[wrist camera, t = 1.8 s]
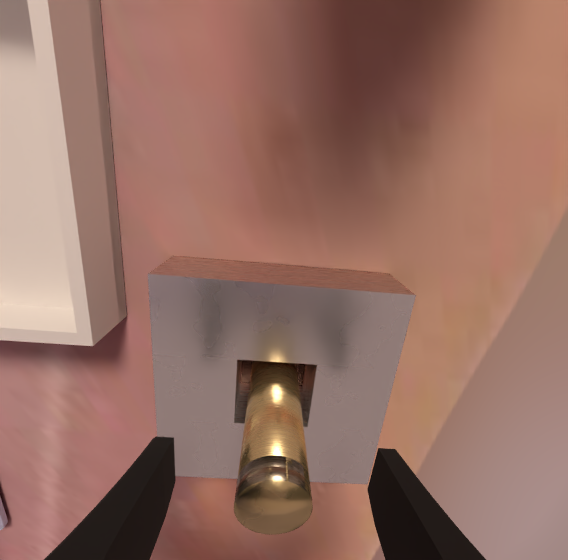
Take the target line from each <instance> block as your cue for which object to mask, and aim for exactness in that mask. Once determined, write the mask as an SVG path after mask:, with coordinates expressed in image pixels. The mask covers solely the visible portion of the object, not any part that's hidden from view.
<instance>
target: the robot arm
mask: <svg viewBox="0 0 568 560" xmlns="http://www.w3.org/2000/svg"><path fill="white" fill-rule="evenodd" d="M174 484H175V453H174V437H155V438H153V439H152V441H151V442H150V443H149V445H148V446H147V447H146V448H145V450H144V451H143V452H142V453H141V455H140V456H139V457H138V458H137V460H136V461H135V462H134V463H133V464H132V466H131V467H130V468H129V469H128V470H127V472H126V473H125V474H124V475H123V476H122V477H121V479H120V480H119V481H118V482H117V483H116V484H115V485H114V487H113V488H112V489H111V490H110V491H109V492H108V493H107V495H106V496H105V497H104V498H103V499H102V500H101V501H100V502H99V504H98V505H97V506H96V507H95V508H94V509H93V510H92V511H91V512H90V513H89V514H88V515H87V516H86V517H85V518H84V520H83V521H82V522H81V523H80V524H79V525H78V526H77V527H76V528H75V529H74V530H73V531H72V532H71V533H70V534H69V535H68V536H67V537H66V538H65V539H64V540H63V541H62V542H61V543H60V544H59V545H58V546H57V547H56V548H55V549H54V550H53V551H52V552H51V553H50V554H49V555H48V556H47V557H46V558H45V559H44V560H149V559H150V557H151V554H152V551H153V549H154V546H155V543H156V541H157V538H158V535H159V533H160V530H161V527H162V525H163V522H164V519H165V517H166V513H167V510H168V506H169V503H170V499H171V495H172V492H173V488H174ZM368 494H369V499H370V504H371V509H372V514H373V518H374V523H375V527H376V530H377V533H378V537H379V540H380V543H381V547H382V550H383V553H384V556H385V560H486V559H485V558H484V557H483V556H482V555H481V554H480V553H479V551H478V550H477V549H476V548H475V547H474V546H473V545H472V543H470V541H469V540H468V539H467V538H466V537H465V536H464V534H463V533H462V532H461V531H460V530H459V528H458V527H457V526H456V525H455V524H454V523H453V521H452V520H451V519H450V518H449V517H448V515H447V514H446V513H445V512H444V510H443V509H442V508H441V507H440V506H439V504H438V503H437V502H436V501H435V500H434V498H433V497H432V496H431V495H430V493H429V492H428V491H427V490H426V488H425V487H424V486H423V484H422V483H421V482H420V481H419V479H418V478H417V477H416V475H415V474H414V473H413V472H412V470H411V469H410V468H409V466H408V465H407V464H406V462H405V461H404V460H403V459H402V457H401V456H400V455H399V453H398V452H397V451H396V450H395V449H382V448H378V452H377V456H376V459H375V463H374V467H373V471H372V475H371V479H370V482H369V486H368ZM7 523H8V520H7V516H6V513H5V510H4V507H3V503H2V500H1V497H0V530H2V529H3V528H4V527H5V526H6V524H7Z"/></svg>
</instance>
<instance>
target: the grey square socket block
mask: <svg viewBox="0 0 568 560" xmlns="http://www.w3.org/2000/svg"><path fill="white" fill-rule="evenodd" d="M148 284H149V302H150V319H151V336H152V354H153V371H154V388H155V405H156V423H157V437H174V453H175V476H183V477H207V478H231V479H238V471H239V463H240V456H241V448H242V440H243V432H244V424H245V417H246V409H247V401H248V393H249V386H250V383H241V375H242V360H253V361H268V362H283V363H299V364H305V370H304V377H303V385H302V386H299V392H300V400H301V409H302V418H303V427H304V436H305V444H306V453H307V462H308V471H309V480H310V482H326V483H350V484H367V483H368V480H369V476H370V472H371V468H372V464H373V460H374V456H375V452H376V448H377V445H378V441H379V437H380V433H381V429H382V425H383V421H384V417H385V413H386V409H387V406H388V402H389V398H390V394H391V390H392V386H393V382H394V378H395V374H396V371H397V367H398V363H399V359H400V355H401V351H402V347H403V343H404V339H405V336H406V332H407V328H408V324H409V320H410V316H411V312H412V308H413V304H414V301H415V297H416V295H415V294H414V293H412V292H411V291H410V290H409V289H408V288H406V287H405V286H404V285H403V284H401V283H400V282H399V281H398V280H396V279H395V278H394V277H393V276H391V275H390V274H386V273H374V272H362V271H350V270H338V269H326V268H314V267H303V266H291V265H279V264H267V263H255V262H243V261H231V260H219V259H207V258H195V257H183V256H172V257H171V258H169V259H168V260H166V261H165V262H164V263H162V264H161V265H159V266H158V267H157V268H155V269H154V270H153V271H151V272H150V273H148Z"/></svg>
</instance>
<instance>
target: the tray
mask: <svg viewBox="0 0 568 560" xmlns="http://www.w3.org/2000/svg"><path fill="white" fill-rule="evenodd" d="M126 316H127V310H126V298H125V287H124V275H123V263H122V252H121V240H120V229H119V217H118V205H117V194H116V182H115V170H114V159H113V147H112V136H111V124H110V112H109V101H108V89H107V77H106V66H105V54H104V43H103V31H102V19H101V8H100V0H0V340H6V341H22V342H37V343H52V344H67V345H83V346H94V345H95V344H96V343H97V342H98V341H100V340H101V339H102V338H103V337H104V336H105V335H106V334H107V333H108V332H110V331H111V330H112V329H113V328H114V327H115V326H116V325H117V324H118V323H120V322H121V321H122V320H123V319H124V318H125V317H126Z"/></svg>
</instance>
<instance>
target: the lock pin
mask: <svg viewBox="0 0 568 560" xmlns="http://www.w3.org/2000/svg"><path fill="white" fill-rule="evenodd" d="M311 512H312V497H311V488H310V480H309V471H308V462H307V453H306V444H305V436H304V427H303V418H302V409H301V400H300V392H299V383H298V374H297V365H296V363H283V362H268V361H253V362H252V370H251V378H250V386H249V393H248V401H247V409H246V417H245V424H244V432H243V440H242V448H241V456H240V463H239V471H238V479H237V487H236V494H235V502H234V513H235V516H236V518H237V519H238V521H239V522H240V523H241V524H242V525H243V526H245V527H246V528H248V529H250V530H252V531H254V532H257V533H262V534H282V533H287V532H290V531H293V530H295V529H297V528H299V527H300V526H302V525H303V524H304V523H305V522H306V521H307V520H308V518H309V517H310V515H311Z"/></svg>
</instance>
